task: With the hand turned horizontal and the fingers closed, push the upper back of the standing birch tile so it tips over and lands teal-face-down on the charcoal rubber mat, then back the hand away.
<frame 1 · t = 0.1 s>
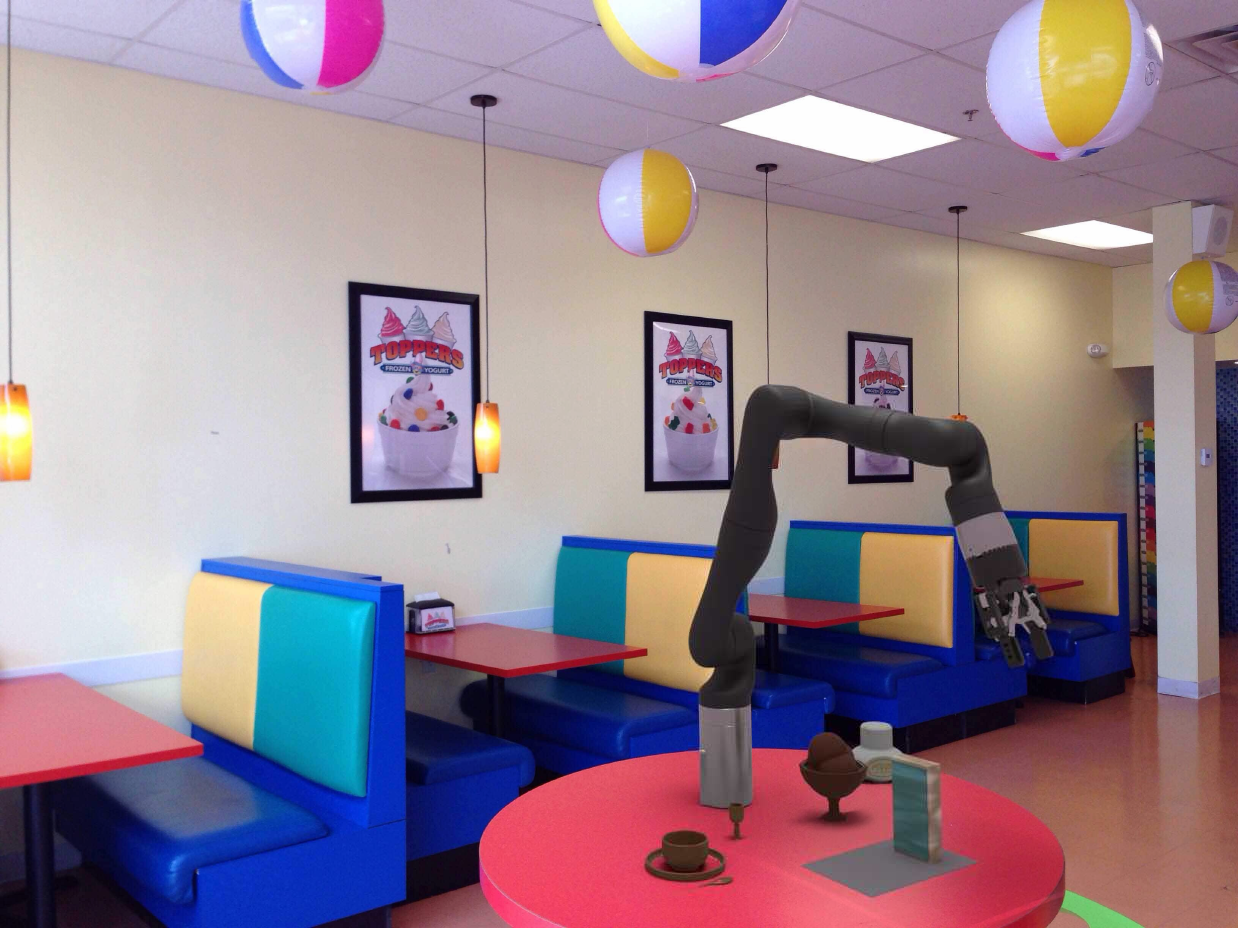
hand: (1032, 661, 141), 31 cm above the table, tool tilted 20°, fingers open, 8 cm apart
air freshener: (877, 778, 194), on the table
place setting: (709, 866, 154), on the table
ice cream bowl: (834, 823, 170), on the table
tile: (917, 854, 152), point 1 cm above the table, touching mat
mat: (889, 868, 149), on the table
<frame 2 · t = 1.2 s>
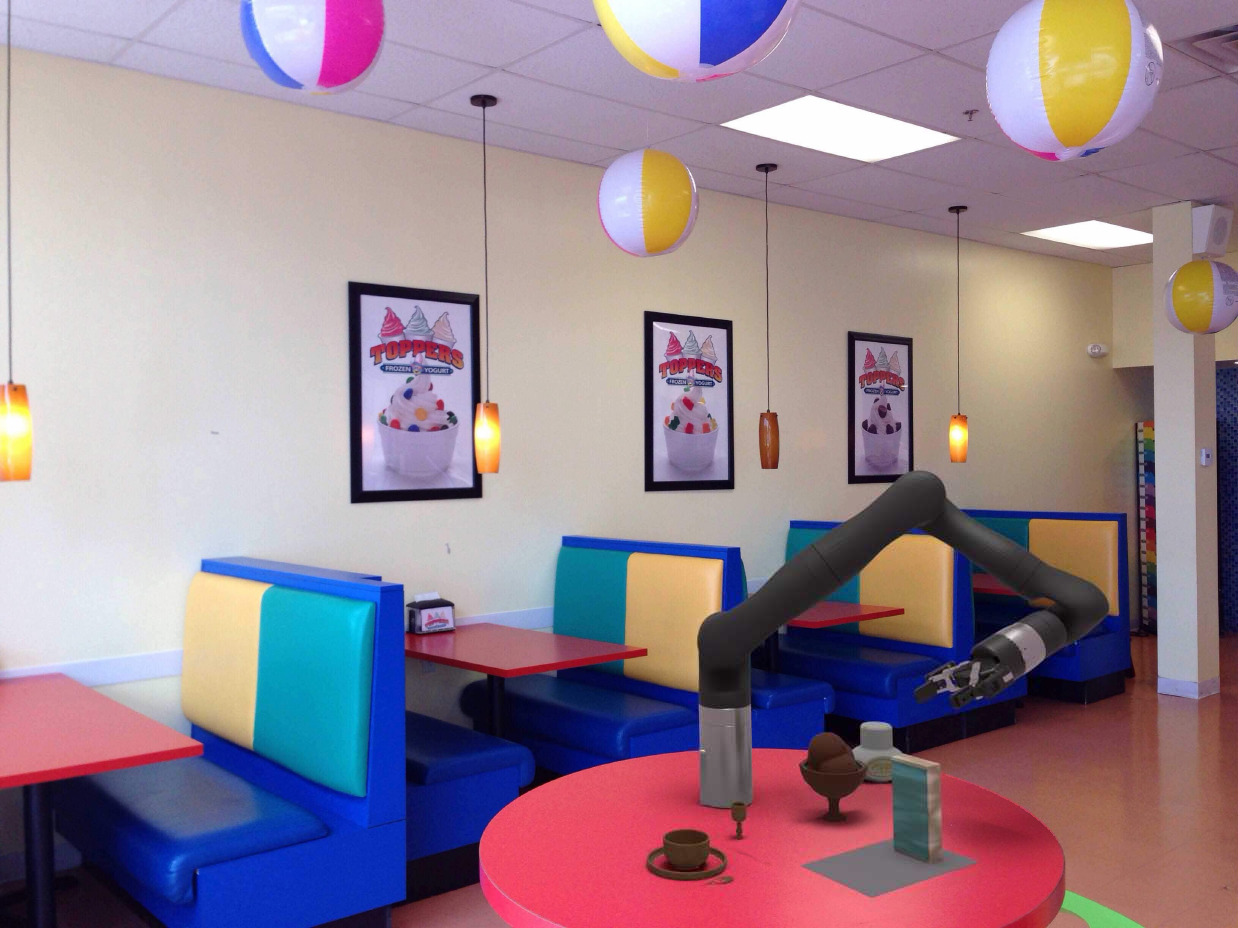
hand: (934, 700, 157), 23 cm above the table, tool tilted 70°, fingers open, 8 cm apart
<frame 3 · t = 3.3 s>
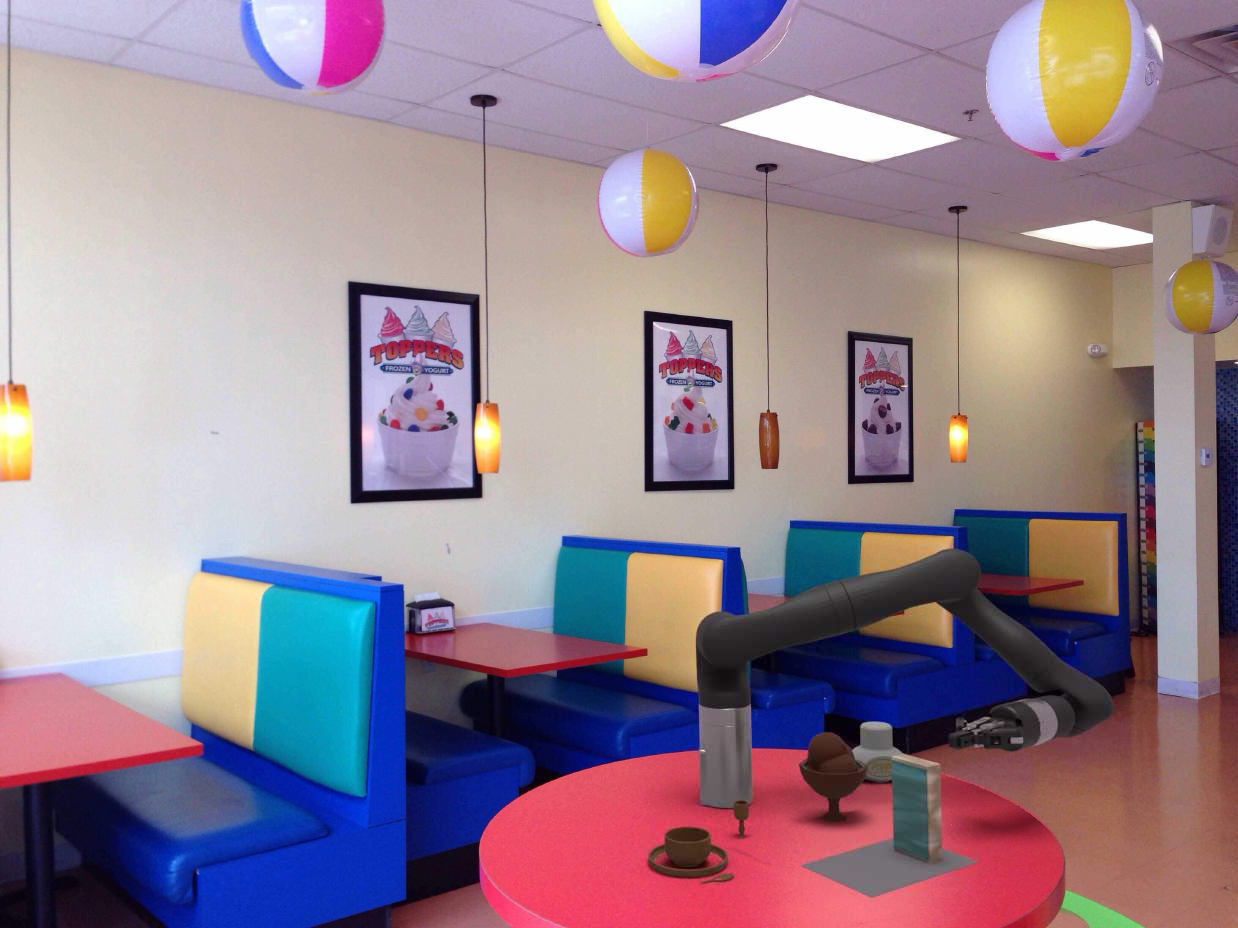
hand: (952, 742, 160), 15 cm above the table, tool horizontal, fingers closed
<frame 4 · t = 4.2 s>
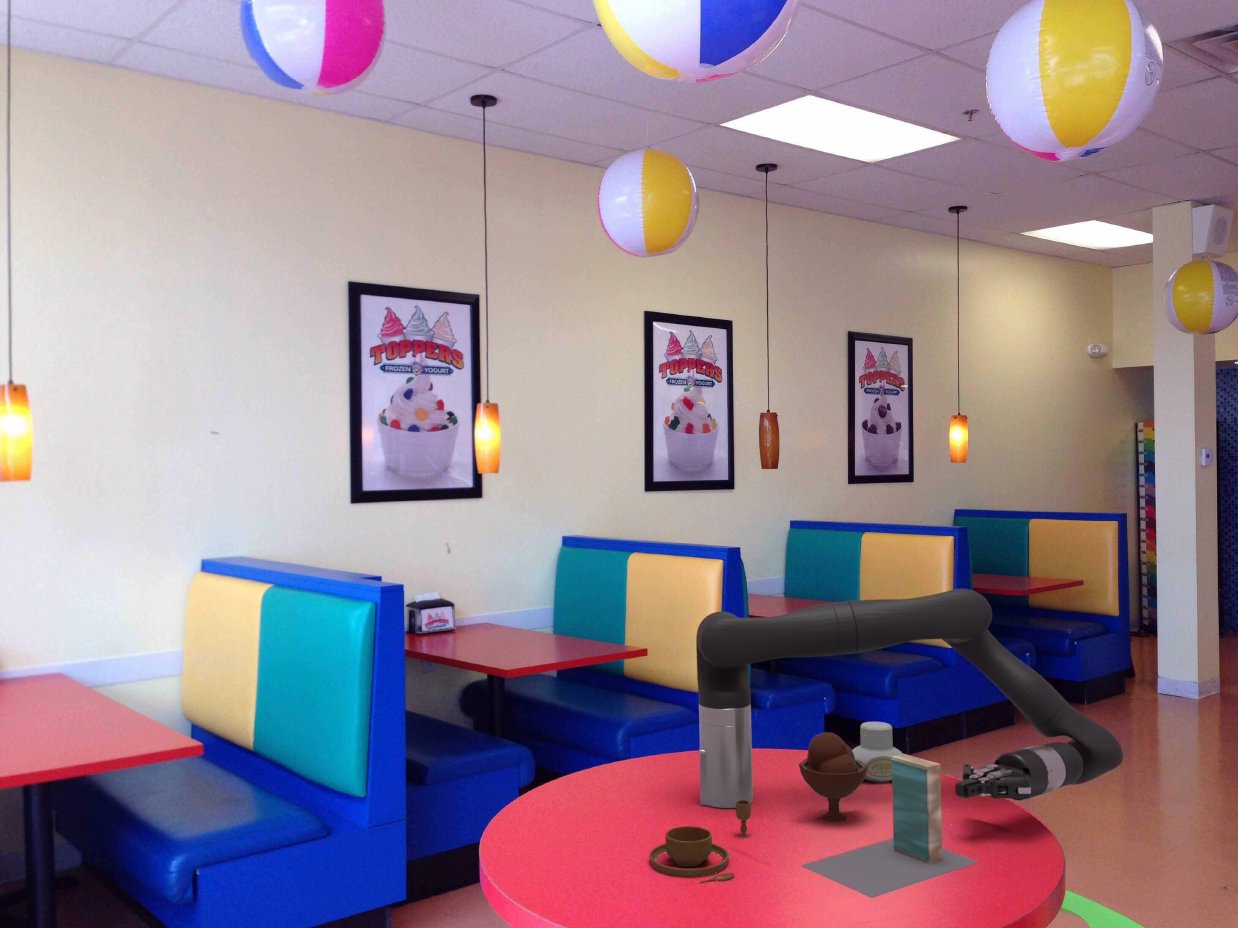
hand: (959, 790, 158), 8 cm above the table, tool horizontal, fingers closed
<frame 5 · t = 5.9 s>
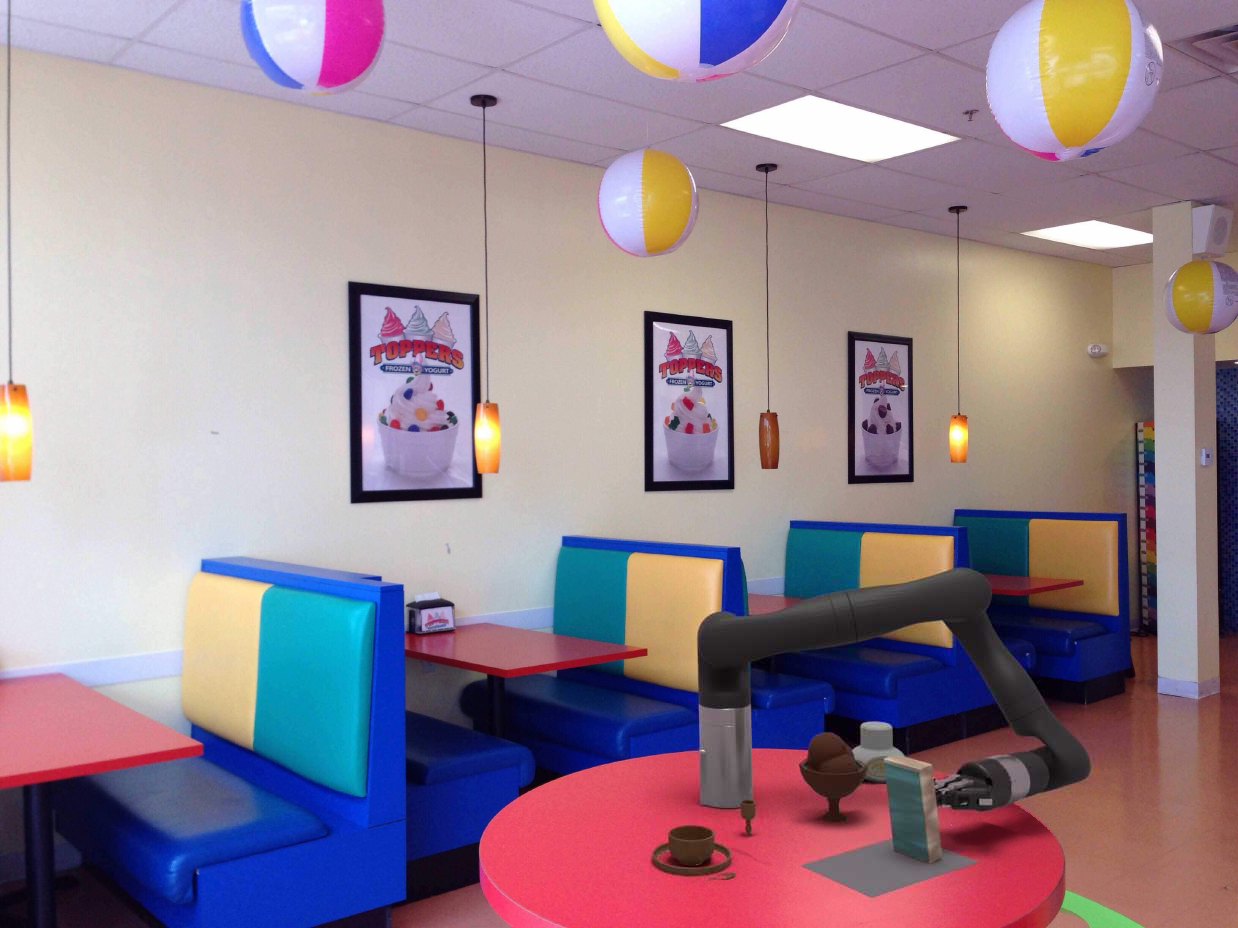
hand: (918, 801, 153), 8 cm above the table, tool horizontal, fingers closed
tile: (917, 853, 152), point 1 cm above the table, tilted 7°, touching mat
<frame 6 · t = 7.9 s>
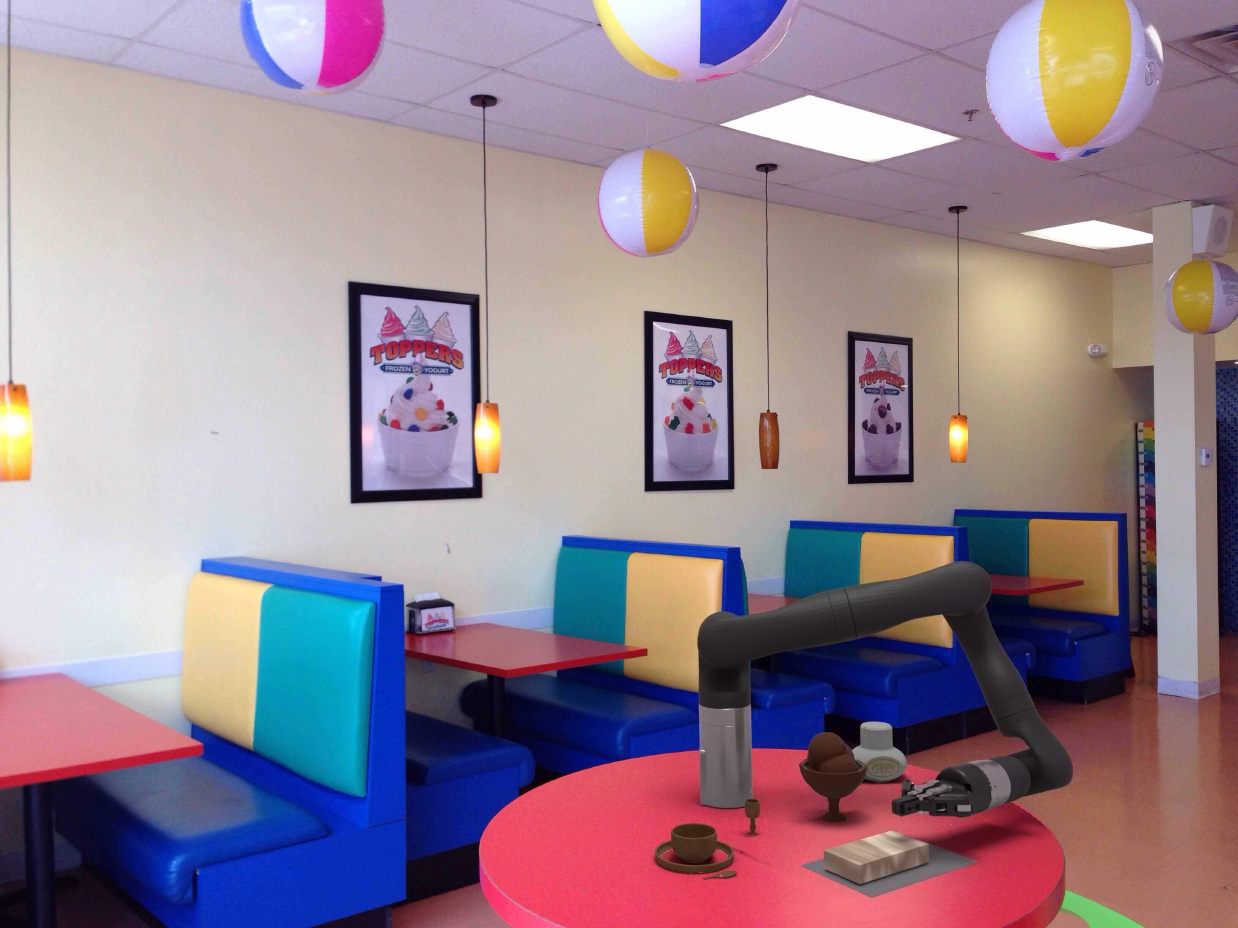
hand: (895, 808, 150), 8 cm above the table, tool horizontal, fingers closed
tile: (910, 845, 152), point 2 cm above the table, tilted 90°, touching mat
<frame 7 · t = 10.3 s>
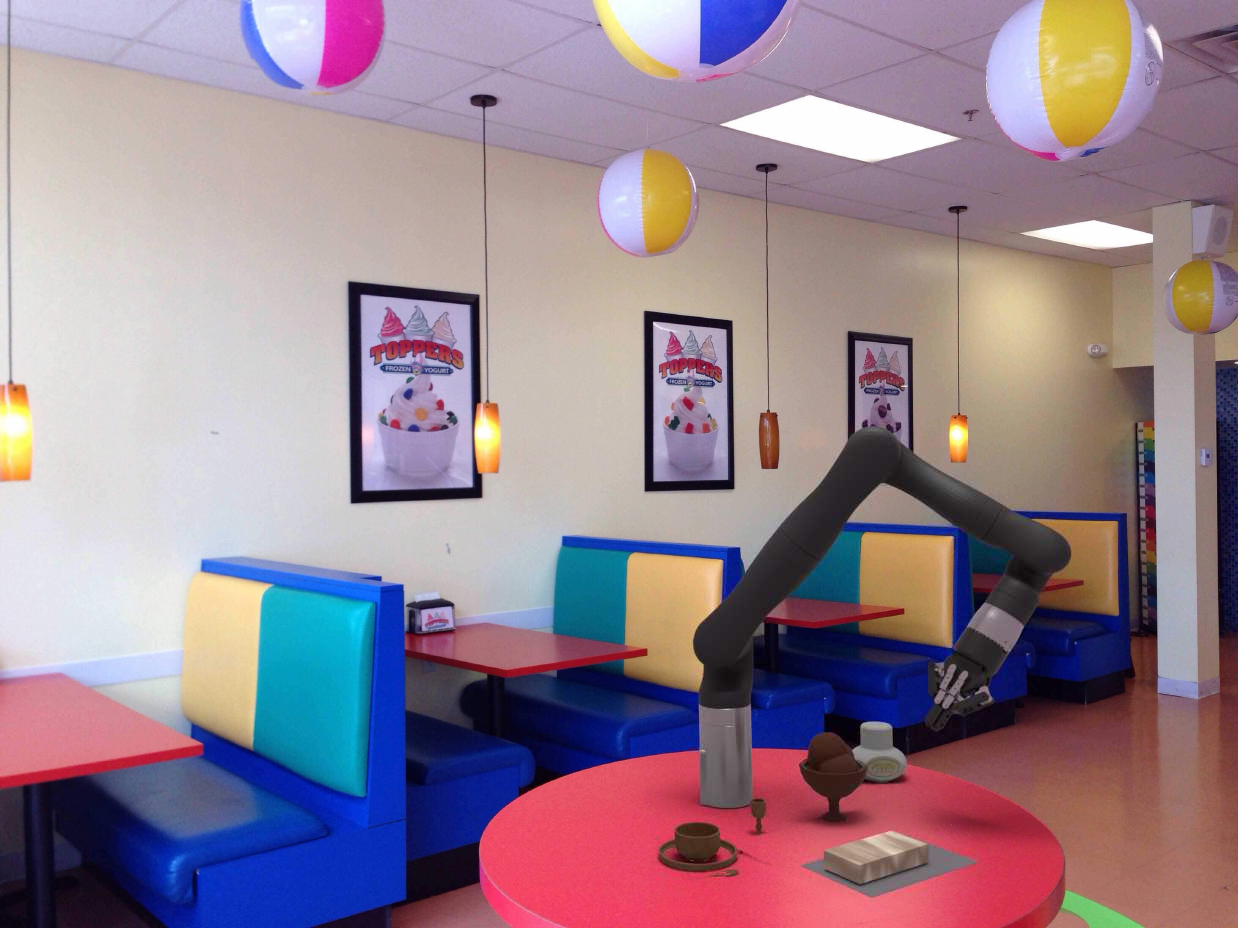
hand: (930, 727, 164), 17 cm above the table, tool tilted 35°, fingers closed
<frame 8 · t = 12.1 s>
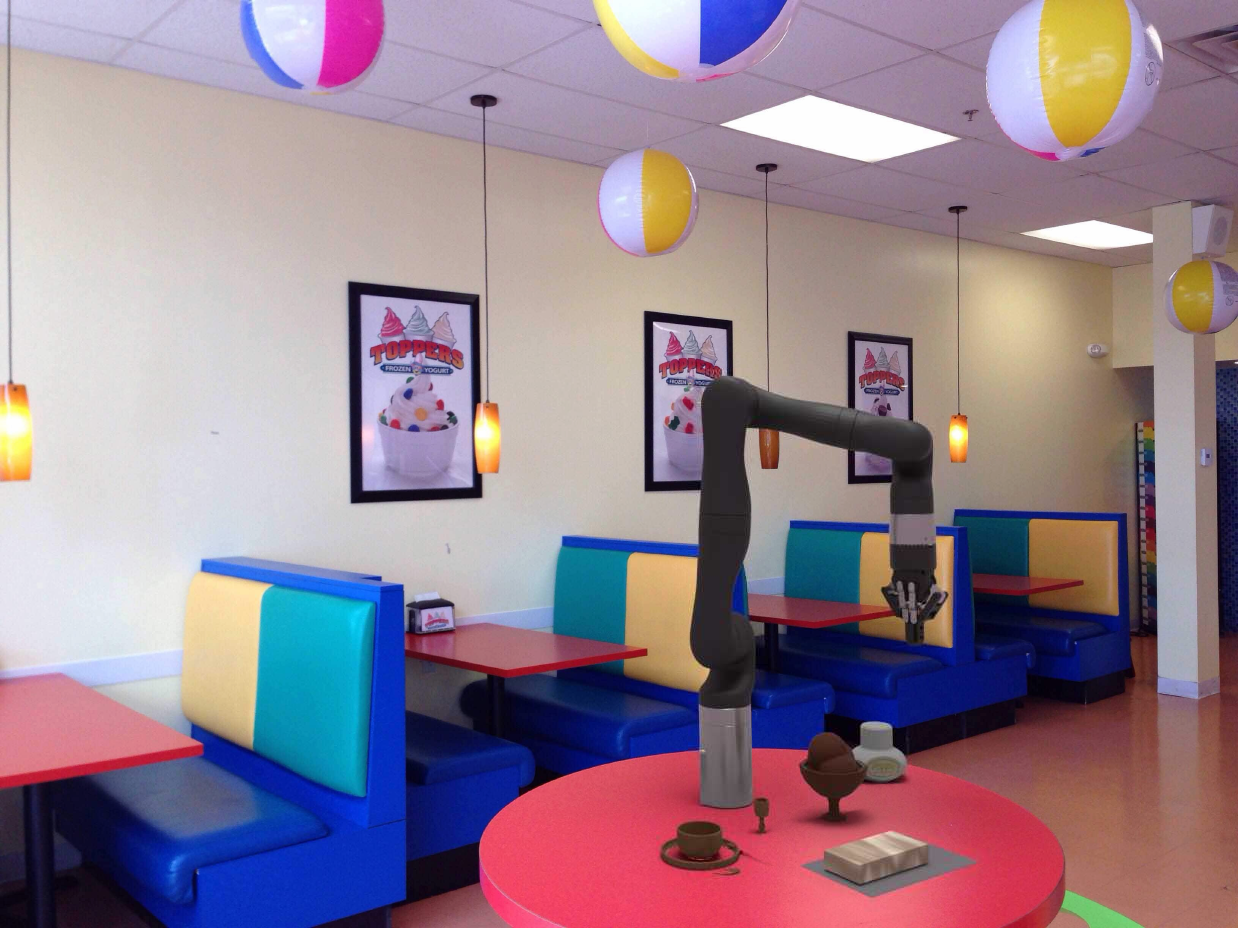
hand: (915, 644, 170), 29 cm above the table, tool pointing down, fingers closed
at the end: tile tilted 90°; tile 4.4 cm from the mat (horizontally); the gripper is holding nothing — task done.
